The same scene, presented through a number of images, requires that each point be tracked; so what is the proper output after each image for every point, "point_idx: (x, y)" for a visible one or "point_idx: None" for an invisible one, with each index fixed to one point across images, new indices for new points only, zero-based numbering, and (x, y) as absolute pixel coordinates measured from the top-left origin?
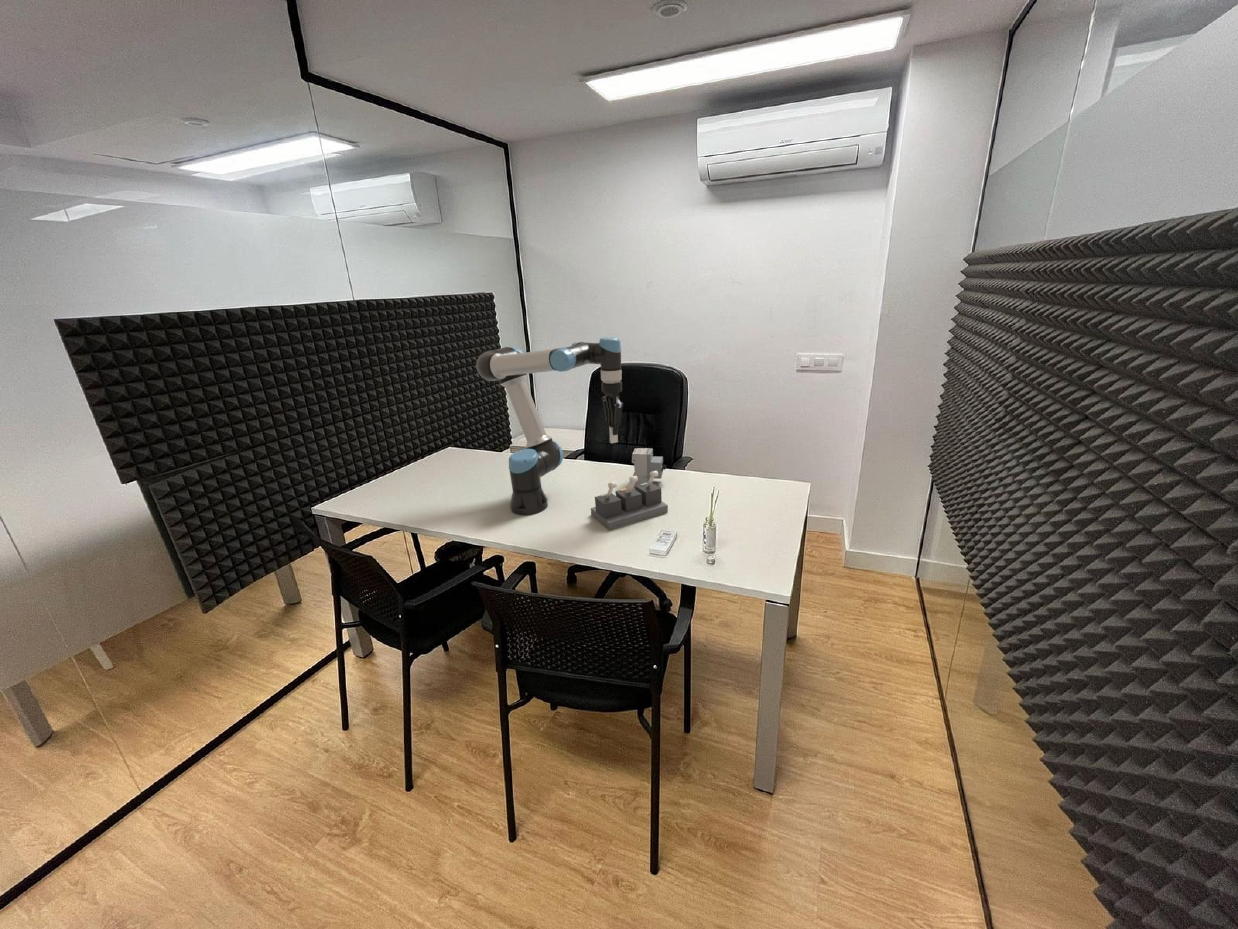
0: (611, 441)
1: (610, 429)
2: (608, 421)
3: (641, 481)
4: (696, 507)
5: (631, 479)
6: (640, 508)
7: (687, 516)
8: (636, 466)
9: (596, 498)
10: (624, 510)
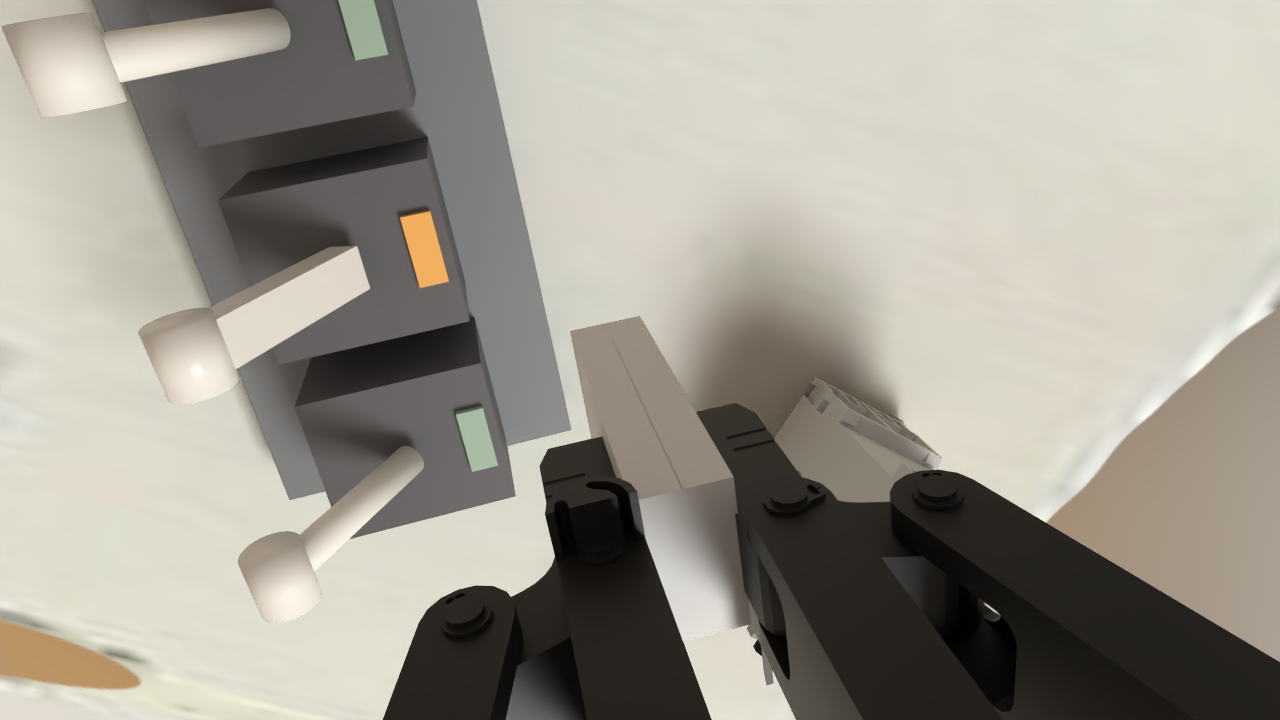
0: (579, 343)
1: (653, 453)
2: (829, 538)
3: (793, 444)
4: (307, 646)
5: (156, 329)
6: None
7: (188, 565)
8: (866, 477)
9: None
10: (280, 167)
